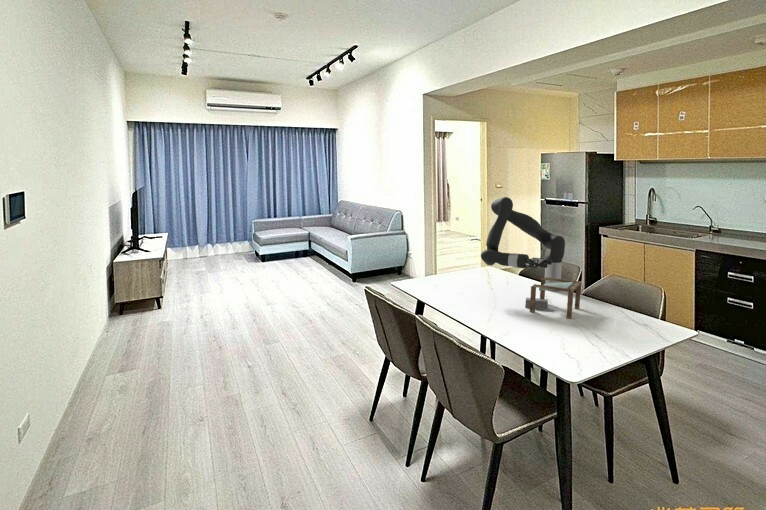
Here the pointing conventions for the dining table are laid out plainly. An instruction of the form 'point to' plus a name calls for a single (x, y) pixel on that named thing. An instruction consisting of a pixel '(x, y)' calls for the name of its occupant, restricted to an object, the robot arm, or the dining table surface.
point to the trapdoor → (558, 285)
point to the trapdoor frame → (570, 291)
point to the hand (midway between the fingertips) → (549, 264)
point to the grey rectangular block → (538, 303)
